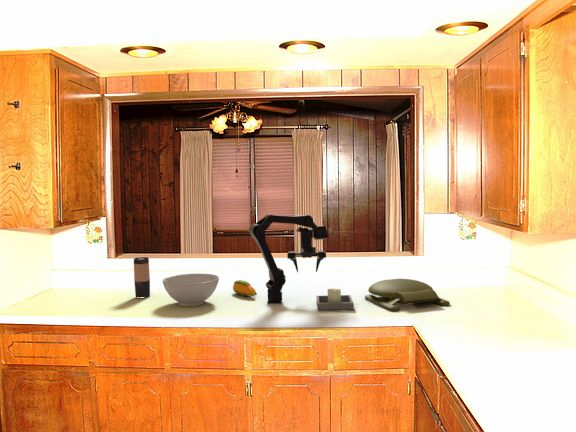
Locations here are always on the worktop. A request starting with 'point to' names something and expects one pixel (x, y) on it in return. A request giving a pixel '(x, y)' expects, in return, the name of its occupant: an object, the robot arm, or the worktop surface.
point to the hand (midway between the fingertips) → (307, 272)
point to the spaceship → (403, 293)
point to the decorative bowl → (191, 288)
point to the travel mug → (142, 277)
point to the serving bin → (335, 304)
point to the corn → (243, 288)
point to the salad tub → (334, 296)
